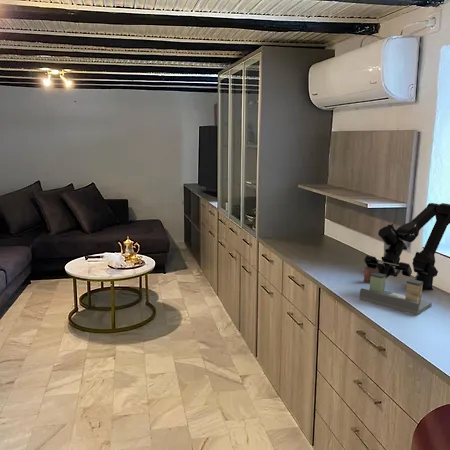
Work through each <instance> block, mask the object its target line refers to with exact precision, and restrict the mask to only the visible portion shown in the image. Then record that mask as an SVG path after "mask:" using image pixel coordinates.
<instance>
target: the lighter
mask: <svg viewBox="0 0 450 450" xmlns="http://www.w3.org/2000/svg"><path fill="white" fill-rule="evenodd" d="M374 272H377V273H379V270H378V268H375V269H373V268H368V267H367V265H366V264H365V265H364V275H363V281H362V282H363V283H364V284H370V278H371V276H370V274H372V273H374Z"/></svg>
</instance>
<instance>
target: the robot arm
mask: <svg viewBox="0 0 450 450" xmlns="http://www.w3.org/2000/svg"><path fill="white" fill-rule="evenodd" d="M434 217H435V222H434V225H433V227H432V229H431V232H430V234H429V236H428V238H427V240H426V243H425V244H424V247H423V249H422V250H421V251H420V252H419V251H416V252H415V254H414V257H413V259H412V267H413V270H412V267H411V265H410V263H407V262H403V261H402V262H400V260H401V255H402V252H403V251H406V250H407V251H408V247H407V245H406V243H413V242H415V240H416V239H417V238H418V237H419V234H420V230H421V229H423V227H424V226H425V225H427V224H428V223H429V221H431V220H433V218H434ZM449 225H450V203H444V202H443V203H434V202H430V203H427V206H426V207H425V208H424V209H423V210H422V211H421V212H420V213H419V214H417V215H416V216H415V217H414V218H413V219H412V220H411V221H410V222H409V221H408V222H407V223H404V224H403V225H401V226H399V227H397V229H395V227H394V225H393V226H392V224H388V225H386V226H383V227H382V228H380V229H379V230H378V232H377V234H378V236H379V237H380V239H381V240H382V241H383V244H384V243H385V244H386V245H389V247H388V249H386V250H385V252H386V253H385V255H384V254H383V256H381V259H380V260H379V259H377V257H376V256H373V255H366V256H365V257H364V259H363V261H364V263H365V266H366V265H367V267H368V268H373V269H375V268H378V270H379V273H381V274H385V275H386V279H387V278H389V277H390V276H392V277H394V278H396V277H398V275H399V274H400V273H401V274H402V275H403V276H405V277H411V275H413V274H412V273H413V272H414V273H416V275H415V277H414V280H417V281H422V282H423V286H422V290H428V291H429V290H430V291H434V288H433V282H434V278H435V277H437V275H438V273H439V271H438V269H437V268H436V266H435V264H436V257H435V255H436V252H437V250H438V247H439V246H440V242H441V241H442V239H443V237H444V234H445V232H446V230H447V227H448V226H449ZM405 242H406V243H405Z"/></svg>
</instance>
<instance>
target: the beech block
mask: <svg viewBox="0 0 450 450" xmlns="http://www.w3.org/2000/svg"><path fill="white" fill-rule="evenodd" d="M422 286H423V282H422V281H417V280H415V279H412V278H411V279H409V280H406V288H405V289H406V290H405V295H404V296H405V299H406V300H410V301H414V302H418V303H421V300H422V294H423V289H422Z"/></svg>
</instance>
